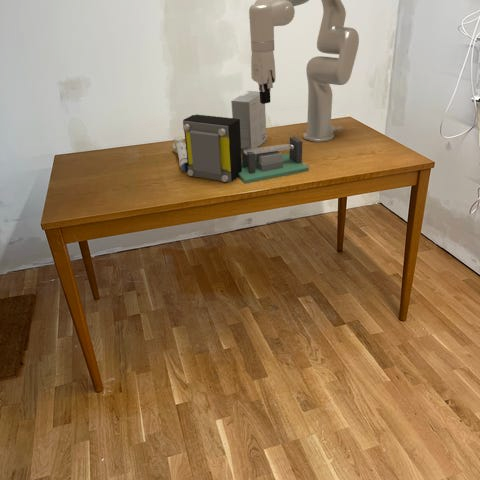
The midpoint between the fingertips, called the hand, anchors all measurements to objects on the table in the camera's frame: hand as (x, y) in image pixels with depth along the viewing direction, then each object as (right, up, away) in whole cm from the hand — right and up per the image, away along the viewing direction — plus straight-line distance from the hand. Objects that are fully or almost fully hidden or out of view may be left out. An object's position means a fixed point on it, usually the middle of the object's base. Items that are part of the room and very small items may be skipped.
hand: (265, 102), depth 160 cm
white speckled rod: (-31, -17, +18) cm, 39 cm away
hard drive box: (-4, -9, +28) cm, 30 cm away
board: (+1, -22, +6) cm, 23 cm away
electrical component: (-18, -25, +4) cm, 31 cm away
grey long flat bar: (+2, -16, +3) cm, 17 cm away
